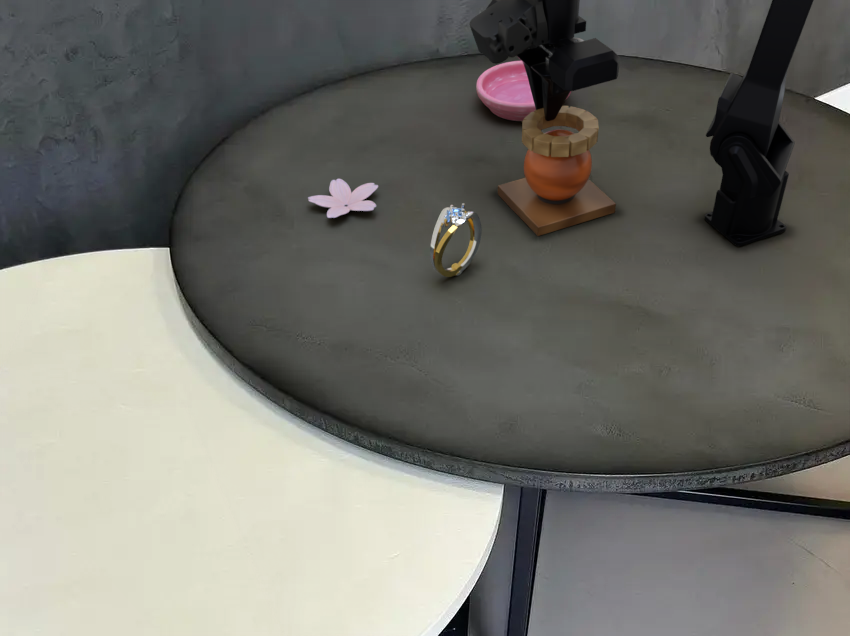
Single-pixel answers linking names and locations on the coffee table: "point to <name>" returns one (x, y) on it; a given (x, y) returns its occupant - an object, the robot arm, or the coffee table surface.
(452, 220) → the ring
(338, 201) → the flower
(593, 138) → the ring
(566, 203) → the ball stand
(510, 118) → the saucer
